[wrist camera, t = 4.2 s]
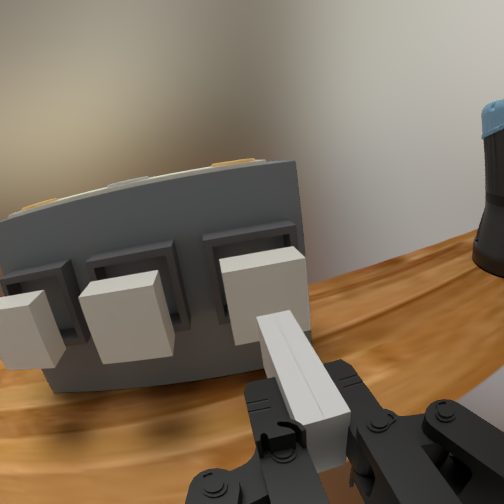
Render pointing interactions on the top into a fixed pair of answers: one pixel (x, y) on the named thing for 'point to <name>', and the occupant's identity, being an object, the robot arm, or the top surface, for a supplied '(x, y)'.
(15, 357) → the button
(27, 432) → the top surface
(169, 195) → the button panel
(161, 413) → the top surface
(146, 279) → the button middle
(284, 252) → the button
